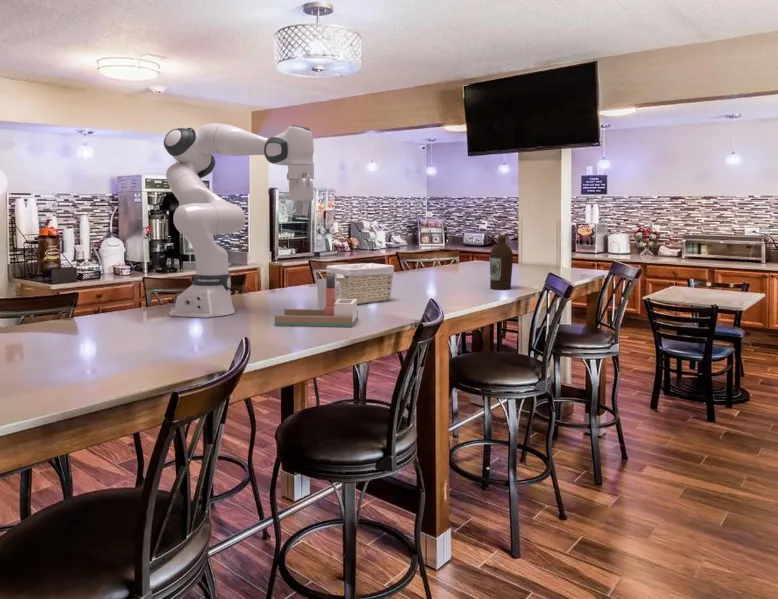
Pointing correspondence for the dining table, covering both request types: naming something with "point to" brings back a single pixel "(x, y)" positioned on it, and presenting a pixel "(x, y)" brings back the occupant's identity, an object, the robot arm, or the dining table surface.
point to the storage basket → (363, 281)
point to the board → (321, 316)
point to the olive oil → (501, 265)
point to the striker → (330, 295)
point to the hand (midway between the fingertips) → (301, 214)
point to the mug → (322, 292)
